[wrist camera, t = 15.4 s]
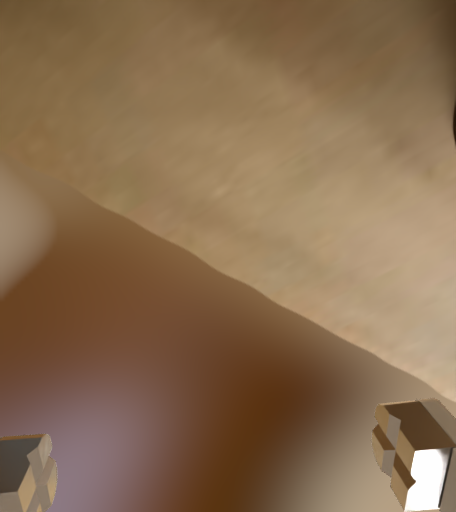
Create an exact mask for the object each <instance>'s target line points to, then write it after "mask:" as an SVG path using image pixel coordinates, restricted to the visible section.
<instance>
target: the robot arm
mask: <svg viewBox="0 0 456 512" xmlns="http://www.w3.org/2000/svg"><path fill="white" fill-rule="evenodd" d="M374 417H375V419H376V420H377V422H378V425H377V426H376V427H375V428H374V429H373V430H372V439H371V443H372V449H373V454H374V457H375V459H376V462H377V464H378V466H379V467H380V469H381V470H382V471H383V472H384V473H386V474H387V475H388V476H390V477H391V483H390V487H391V489H392V491H393V492H394V494H395V496H396V497H397V499H398V501H399V503H400V504H401V506H402V508H403V510H404V511H405V512H406V511H418V510H430V509H440V512H456V418H455V417H454V416H453V415H451V413H450V412H449V411H448V410H447V409H446V408H445V406H444V405H443V404H442V403H441V402H440V401H439V400H437V399H435V398H430V399H420V400H415V401H404V402H393V403H384V404H378V405H377V407H376V408H375V414H374ZM51 449H52V443H51V439H50V435H47V434H35V435H20V436H6V437H5V436H4V437H0V512H45V511H46V510H47V509H48V508H49V507H50V506H51V505H52V502H53V499H54V496H55V492H56V485H57V466H56V461H55V460H53V459H52V458H51V457H50V456H49V454H50V451H51Z"/></svg>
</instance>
